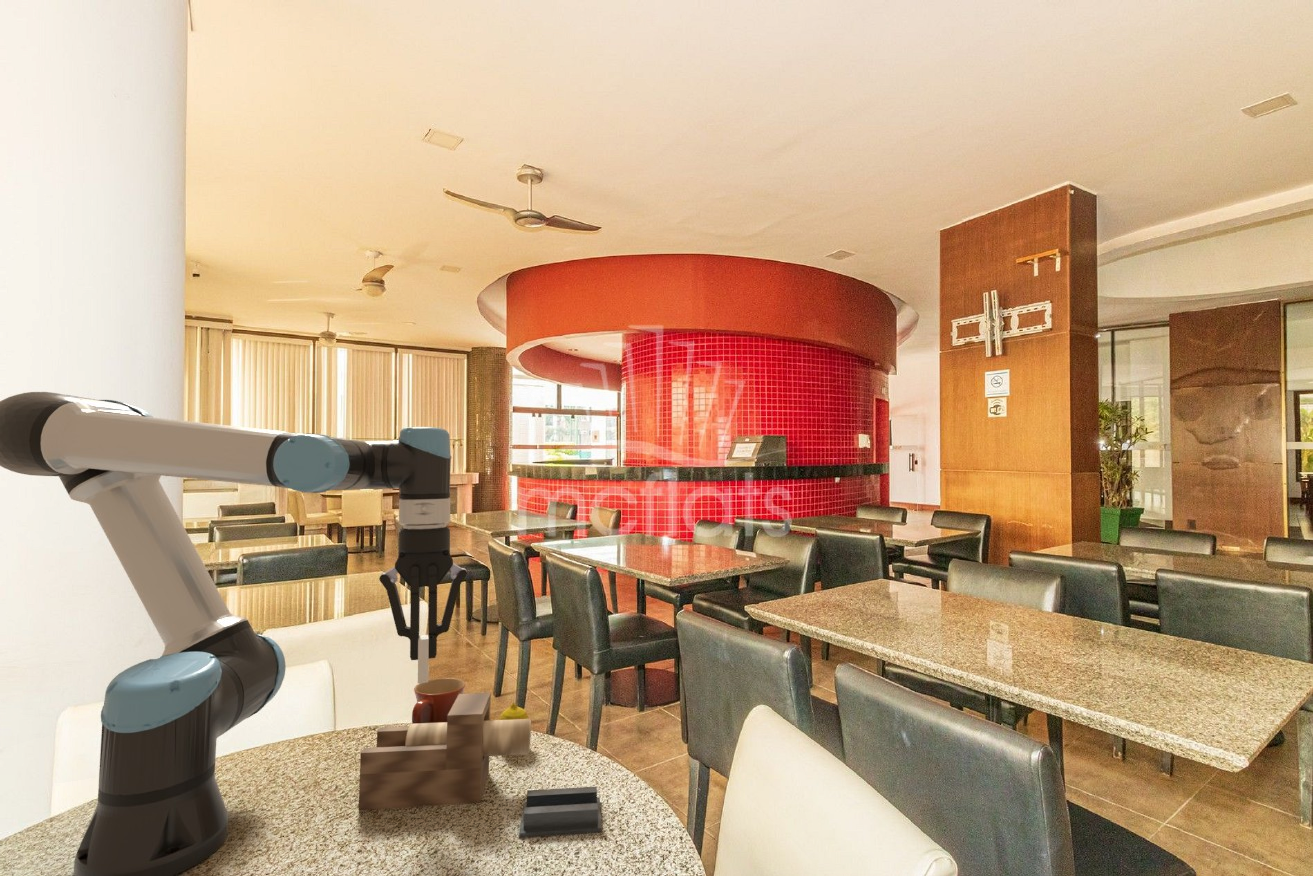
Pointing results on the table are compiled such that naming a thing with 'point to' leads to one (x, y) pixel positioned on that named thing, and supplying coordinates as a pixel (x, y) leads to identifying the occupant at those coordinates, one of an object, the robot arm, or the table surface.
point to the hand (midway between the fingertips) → (423, 680)
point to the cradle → (561, 812)
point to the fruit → (514, 713)
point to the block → (429, 763)
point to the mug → (436, 699)
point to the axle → (496, 736)
